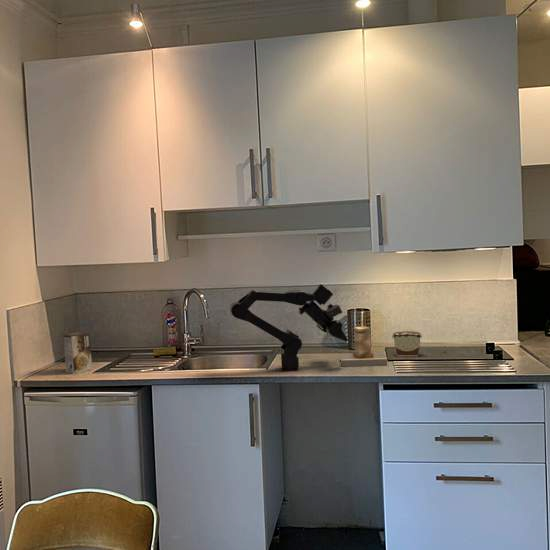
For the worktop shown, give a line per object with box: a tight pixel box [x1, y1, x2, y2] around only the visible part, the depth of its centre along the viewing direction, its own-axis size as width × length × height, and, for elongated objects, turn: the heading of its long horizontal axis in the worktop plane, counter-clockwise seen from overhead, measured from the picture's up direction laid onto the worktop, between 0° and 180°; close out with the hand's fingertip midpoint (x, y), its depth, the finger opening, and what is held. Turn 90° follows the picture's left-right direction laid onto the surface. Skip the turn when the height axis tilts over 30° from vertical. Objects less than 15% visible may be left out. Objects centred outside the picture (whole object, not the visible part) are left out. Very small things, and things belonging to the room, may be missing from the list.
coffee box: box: [62, 331, 93, 375], centre depth 258 cm, size 9×6×16 cm
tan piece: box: [352, 325, 374, 359], centre depth 250 cm, size 6×7×12 cm
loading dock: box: [339, 352, 388, 368], centre depth 250 cm, size 18×13×3 cm
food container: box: [391, 330, 422, 355], centre depth 261 cm, size 12×6×10 cm, turn 74°
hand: (343, 338), depth 248 cm, fingers open, 9 cm apart
